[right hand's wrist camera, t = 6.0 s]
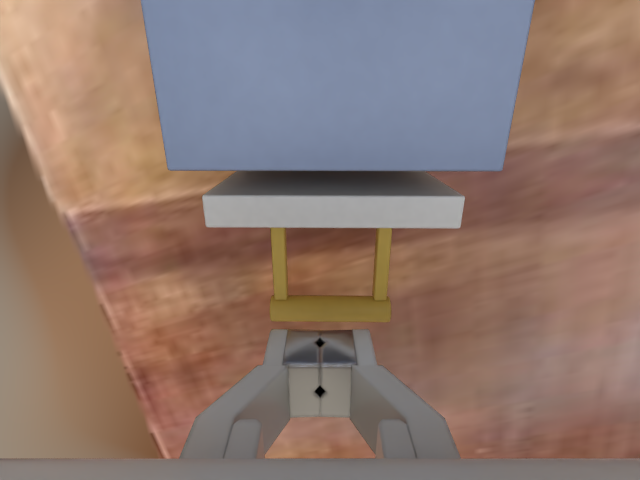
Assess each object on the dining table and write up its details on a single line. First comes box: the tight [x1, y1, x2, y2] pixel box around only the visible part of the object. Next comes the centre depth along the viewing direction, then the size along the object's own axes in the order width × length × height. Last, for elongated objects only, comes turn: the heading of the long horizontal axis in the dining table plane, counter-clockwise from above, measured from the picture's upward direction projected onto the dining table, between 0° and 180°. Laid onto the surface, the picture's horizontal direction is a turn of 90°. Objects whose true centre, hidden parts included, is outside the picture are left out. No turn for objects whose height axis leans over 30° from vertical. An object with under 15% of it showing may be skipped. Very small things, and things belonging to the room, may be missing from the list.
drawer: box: [202, 171, 465, 322], centre depth 14 cm, size 22×9×8 cm, turn 0°
